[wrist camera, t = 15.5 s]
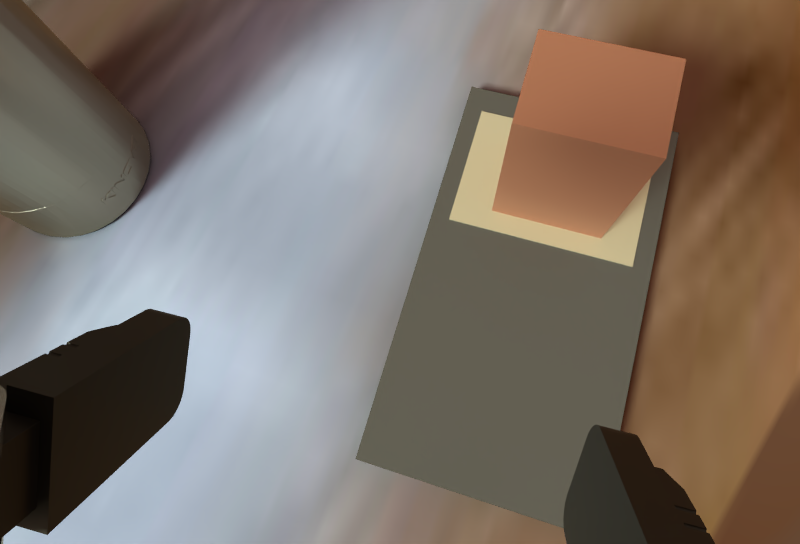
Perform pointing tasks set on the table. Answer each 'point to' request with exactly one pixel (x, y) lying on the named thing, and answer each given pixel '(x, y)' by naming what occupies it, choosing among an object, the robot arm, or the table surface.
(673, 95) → the block
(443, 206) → the pin board
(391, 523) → the table surface
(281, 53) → the table surface
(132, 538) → the table surface
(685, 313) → the table surface
